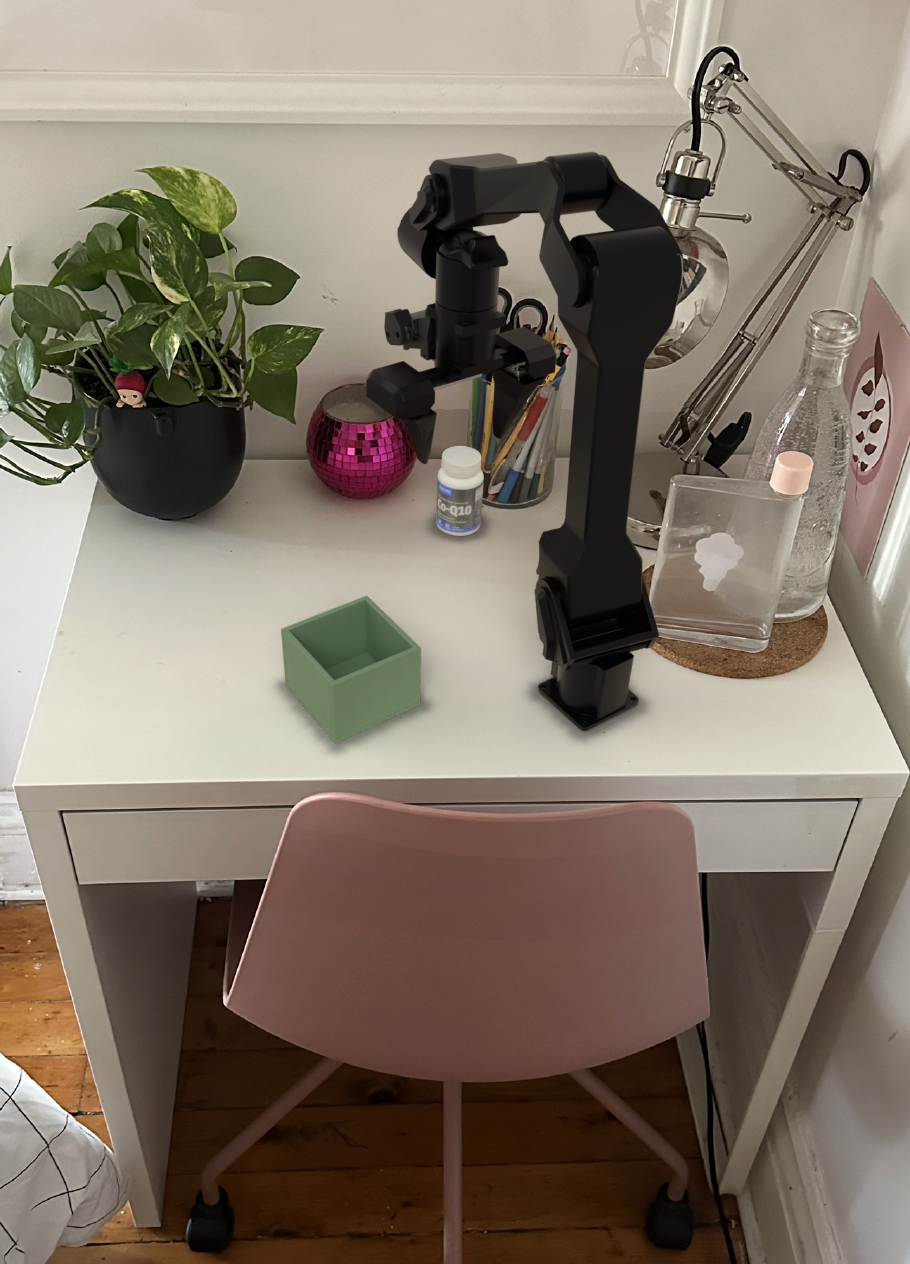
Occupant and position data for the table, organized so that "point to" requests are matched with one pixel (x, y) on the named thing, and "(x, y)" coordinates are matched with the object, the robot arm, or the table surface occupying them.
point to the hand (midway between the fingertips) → (460, 449)
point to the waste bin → (351, 667)
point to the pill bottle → (459, 491)
